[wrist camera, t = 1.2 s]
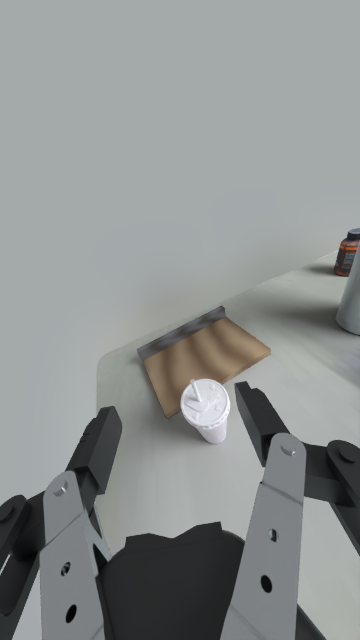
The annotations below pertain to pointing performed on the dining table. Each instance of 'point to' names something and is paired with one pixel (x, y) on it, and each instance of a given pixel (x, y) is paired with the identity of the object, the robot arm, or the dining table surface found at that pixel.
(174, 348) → the tan serving tray
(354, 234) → the supplement bottle
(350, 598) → the dining table surface
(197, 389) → the smoothie
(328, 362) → the dining table surface
